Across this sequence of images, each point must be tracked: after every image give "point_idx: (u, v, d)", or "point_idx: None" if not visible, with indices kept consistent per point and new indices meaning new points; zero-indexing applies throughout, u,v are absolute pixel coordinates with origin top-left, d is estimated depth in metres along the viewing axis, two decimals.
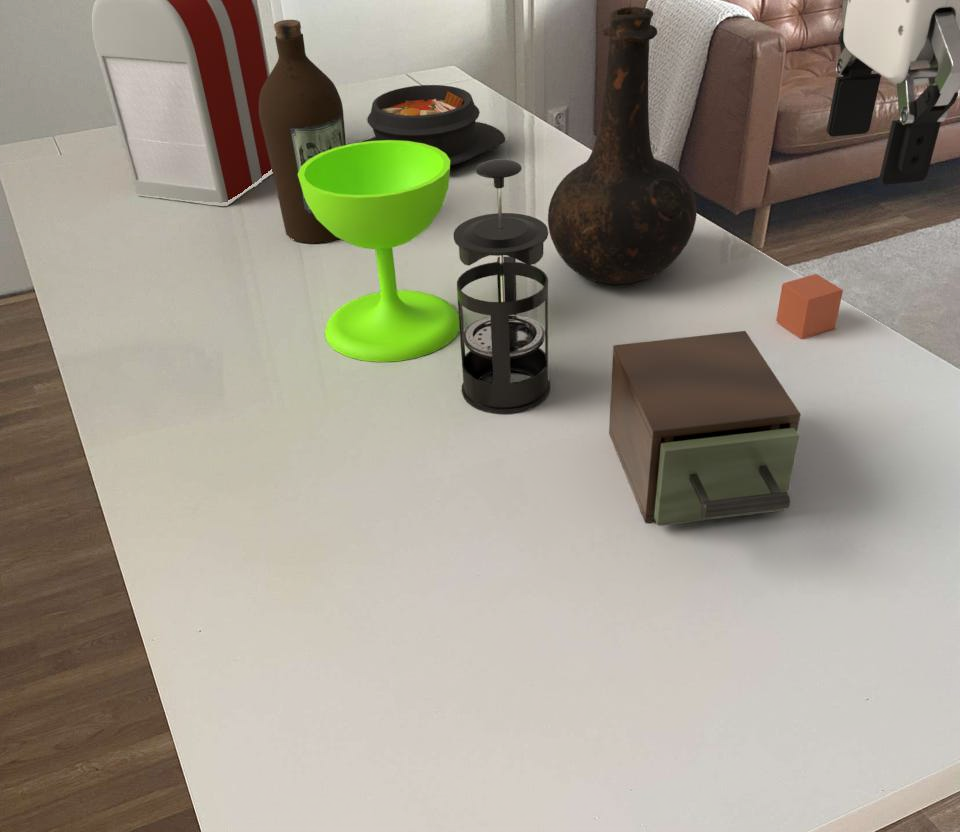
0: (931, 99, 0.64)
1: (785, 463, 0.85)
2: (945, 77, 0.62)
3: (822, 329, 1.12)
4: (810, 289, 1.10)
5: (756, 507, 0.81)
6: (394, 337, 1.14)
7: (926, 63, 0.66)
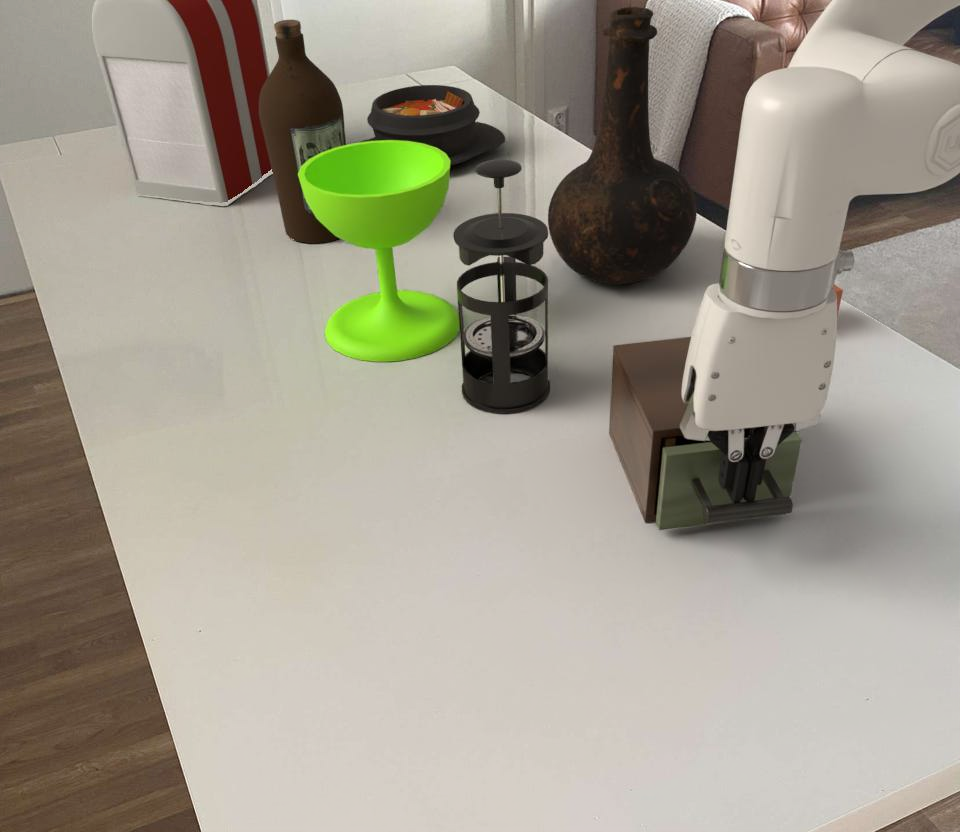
0: (791, 429, 0.78)
1: (788, 468, 0.85)
2: (808, 424, 0.78)
3: None
4: None
5: (759, 512, 0.81)
6: (394, 337, 1.14)
7: None
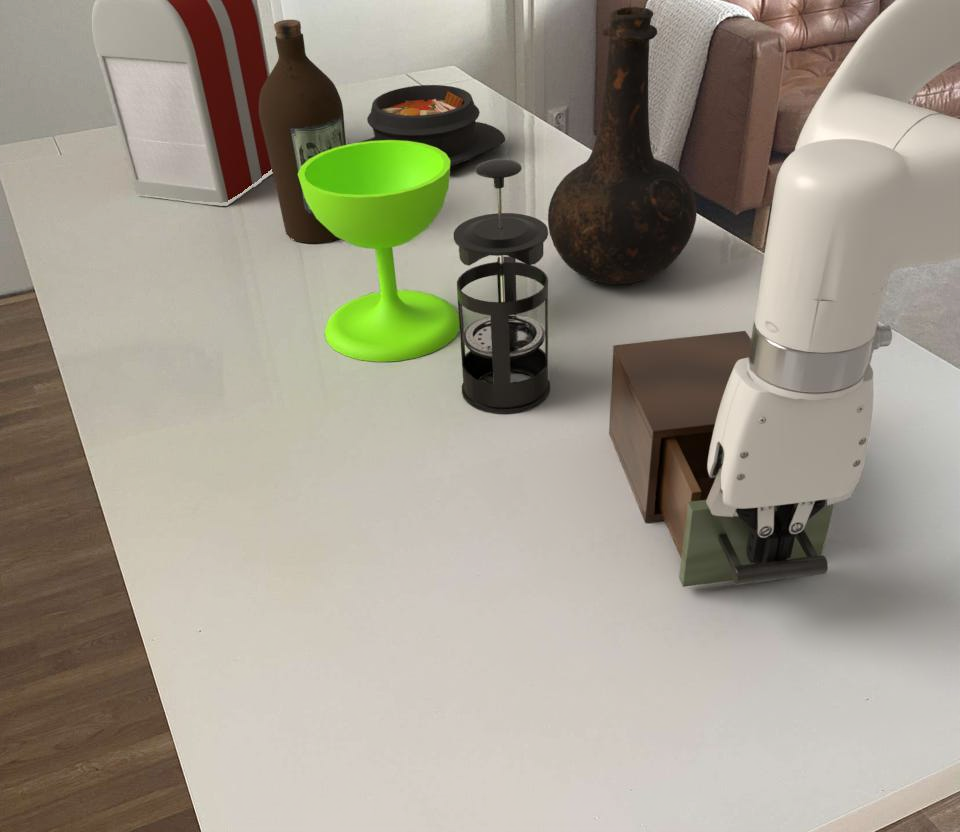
0: (822, 504, 0.74)
1: (821, 522, 0.79)
2: (840, 498, 0.74)
3: None
4: None
5: (791, 572, 0.75)
6: (394, 337, 1.14)
7: None
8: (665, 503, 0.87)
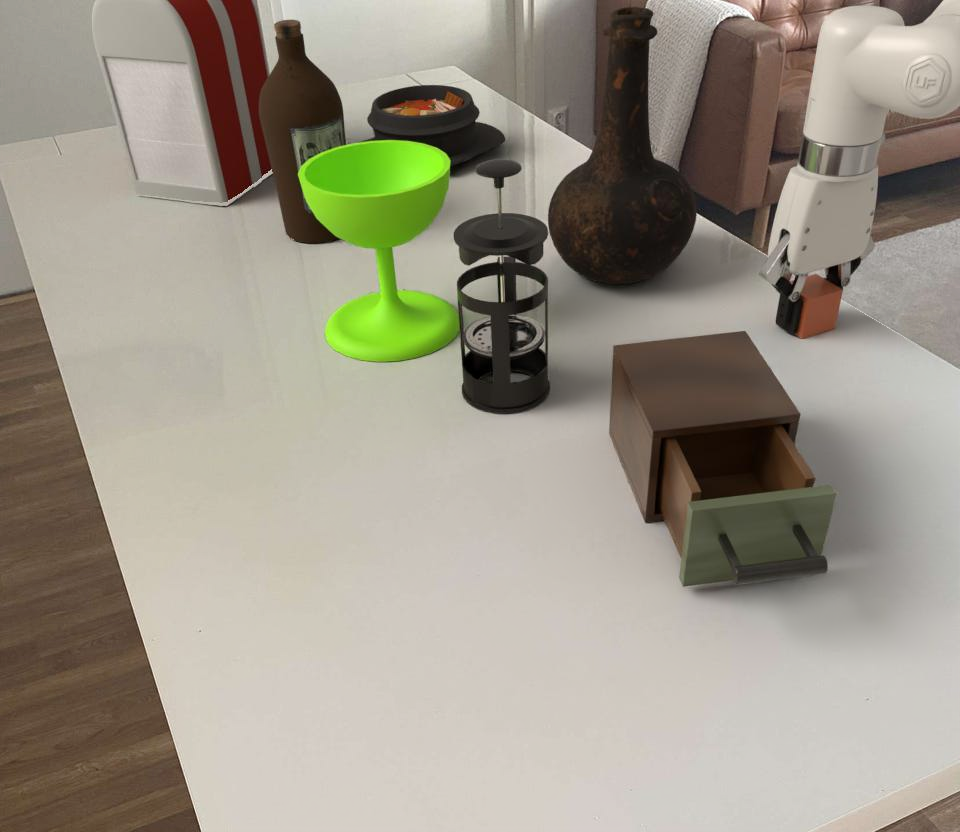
0: (859, 262, 1.10)
1: (821, 522, 0.79)
2: (868, 252, 1.10)
3: (822, 329, 1.12)
4: (810, 289, 1.10)
5: (791, 572, 0.75)
6: (394, 337, 1.14)
7: None
8: (665, 503, 0.87)
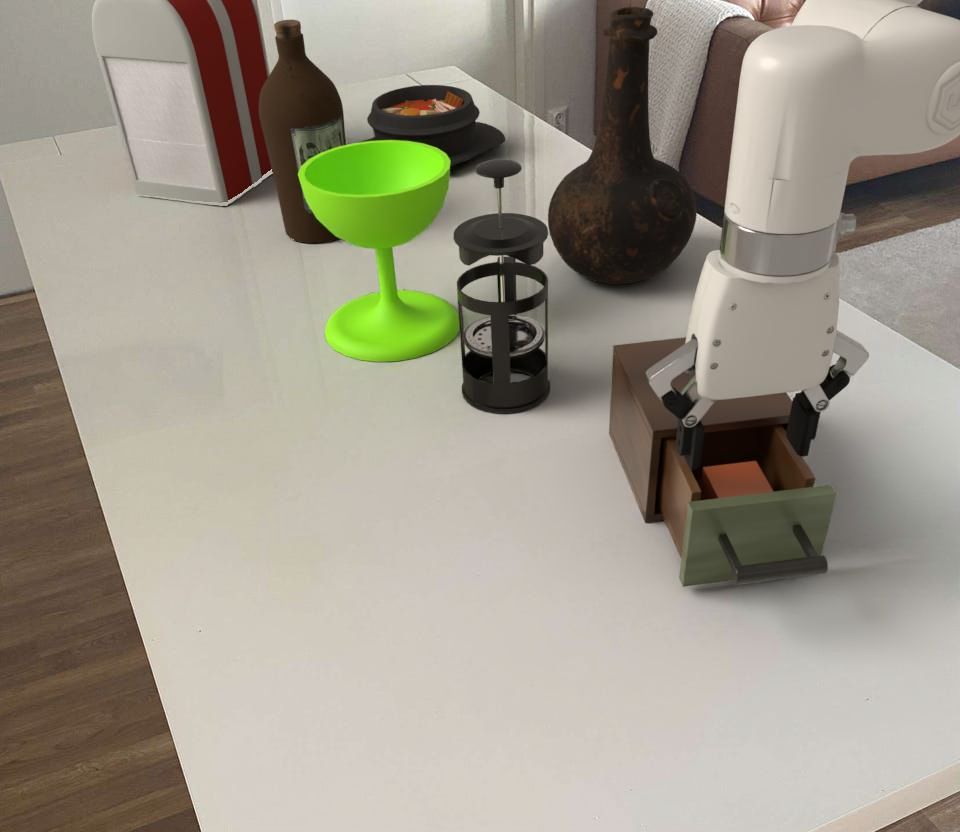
0: (846, 381, 0.76)
1: (821, 522, 0.79)
2: (859, 363, 0.76)
3: None
4: (731, 484, 0.82)
5: (791, 572, 0.75)
6: (394, 337, 1.14)
7: None
8: (665, 503, 0.87)
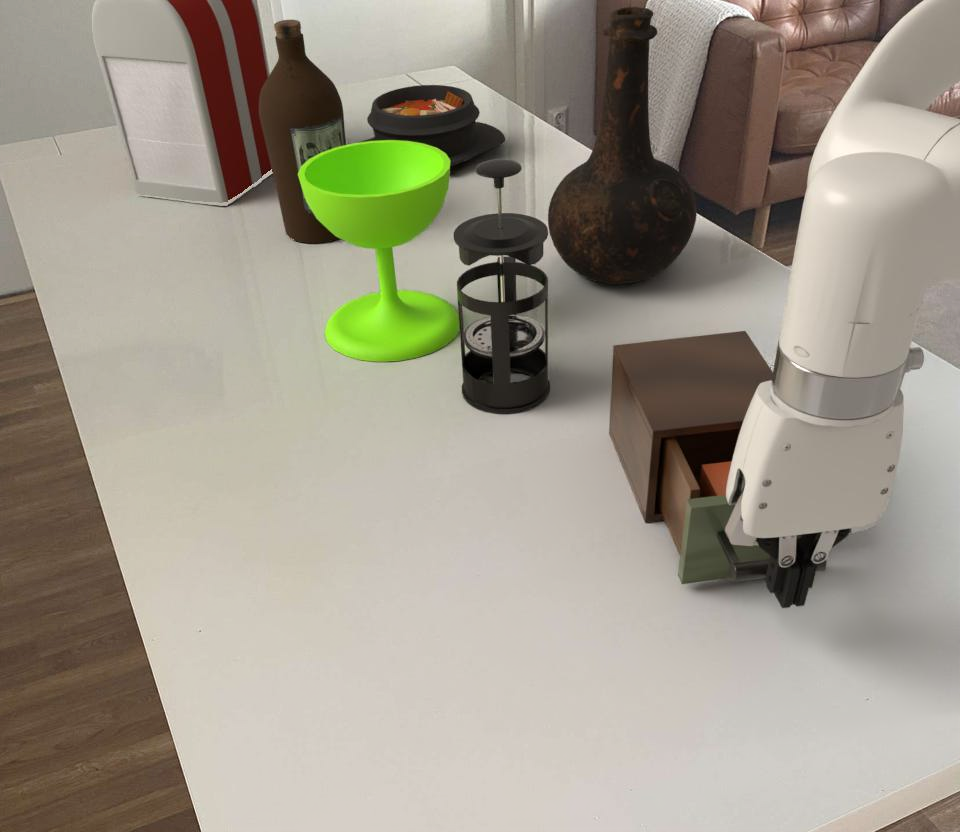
0: (846, 532, 0.70)
1: None
2: (865, 526, 0.71)
3: None
4: None
5: None
6: (394, 337, 1.14)
7: None
8: (664, 501, 0.87)
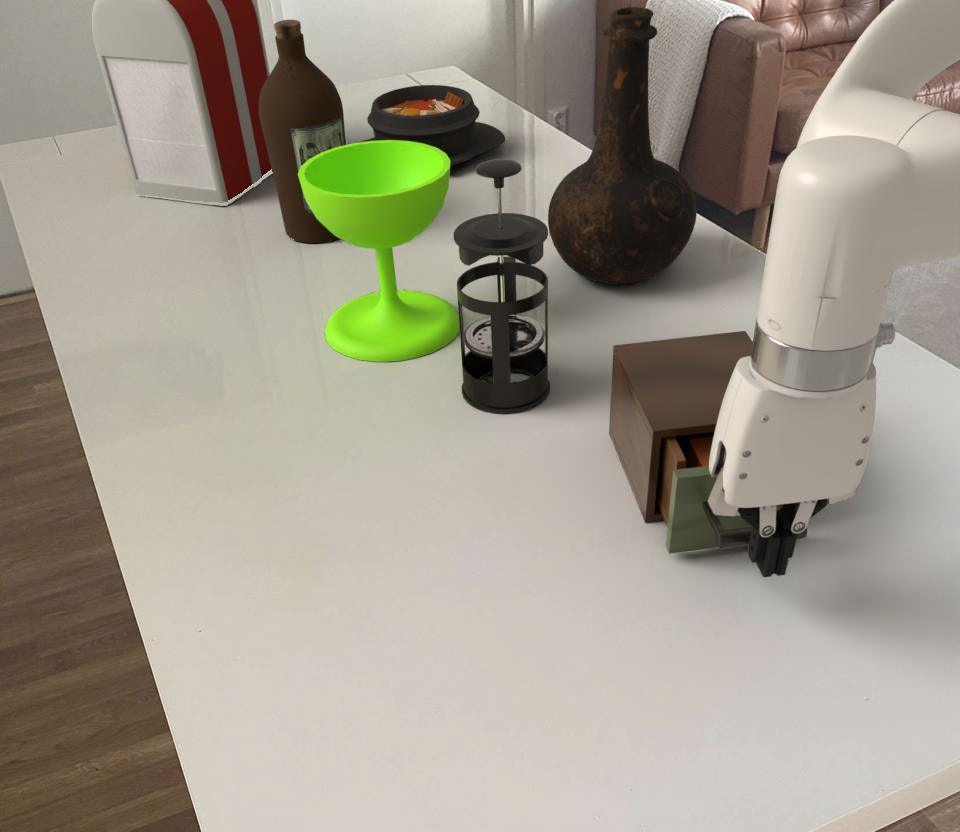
0: (824, 503, 0.74)
1: None
2: (842, 498, 0.74)
3: None
4: None
5: None
6: (394, 337, 1.14)
7: None
8: None
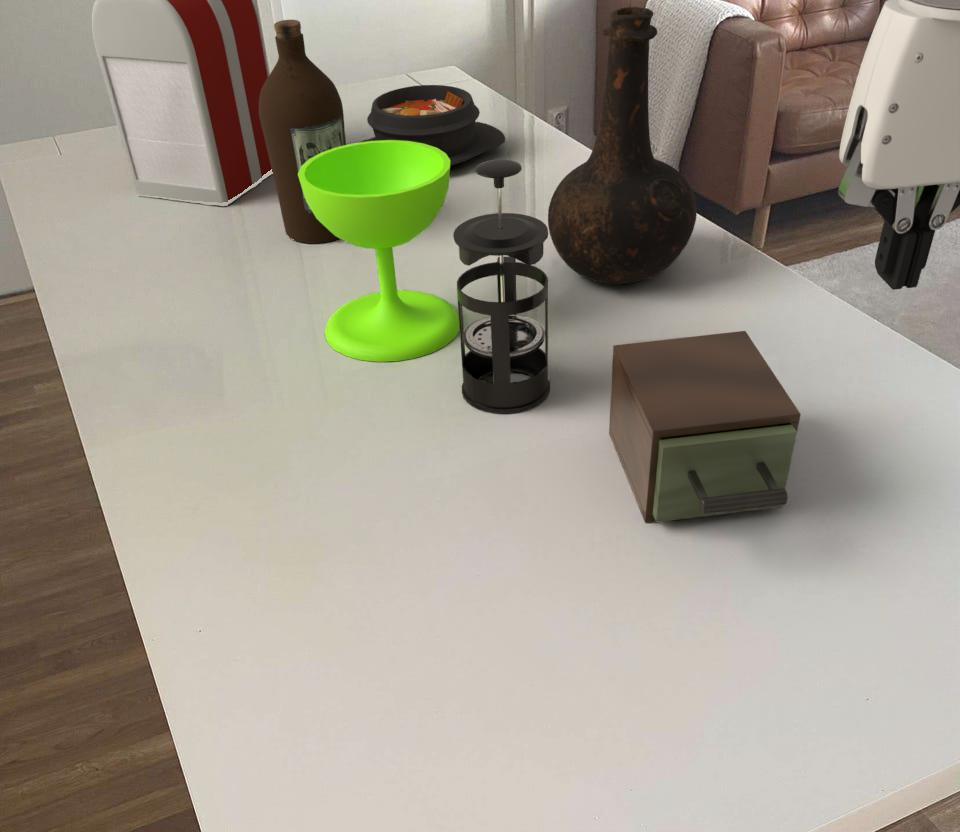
0: None
1: (784, 460, 0.85)
2: None
3: None
4: None
5: (754, 503, 0.81)
6: (394, 337, 1.14)
7: None
8: None
